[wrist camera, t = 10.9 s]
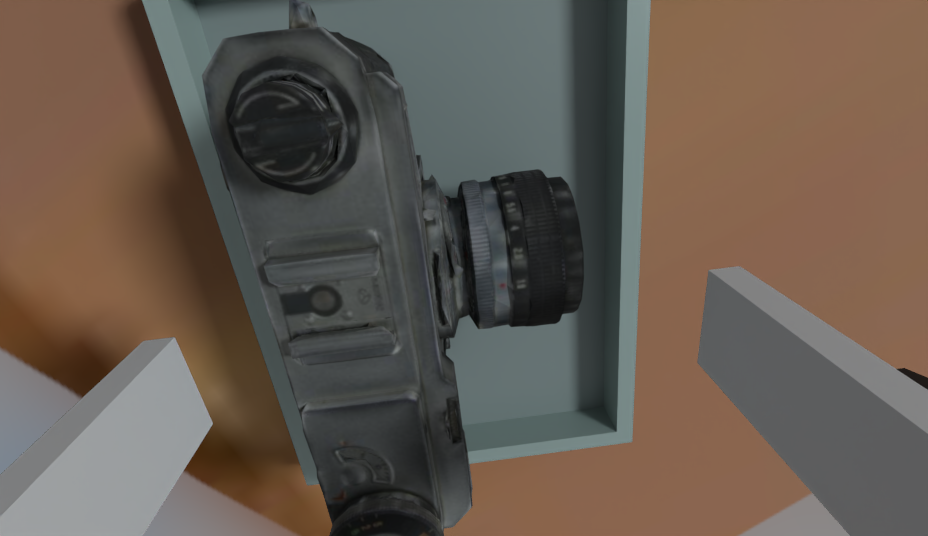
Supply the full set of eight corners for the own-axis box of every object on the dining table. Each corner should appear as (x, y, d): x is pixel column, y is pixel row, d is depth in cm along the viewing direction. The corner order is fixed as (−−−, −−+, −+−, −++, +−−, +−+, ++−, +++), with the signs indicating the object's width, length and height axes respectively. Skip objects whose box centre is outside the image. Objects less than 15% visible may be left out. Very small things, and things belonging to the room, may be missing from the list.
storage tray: (170, -28, 16) (126, -45, 14) (624, -82, 17) (654, -108, 14) (318, 448, 25) (307, 485, 23) (614, 408, 25) (632, 442, 23)
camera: (552, 390, 24) (627, 588, 15) (378, 414, 24) (342, 629, 14) (529, 7, 17) (644, -79, 8) (284, 40, 17) (101, -8, 8)
